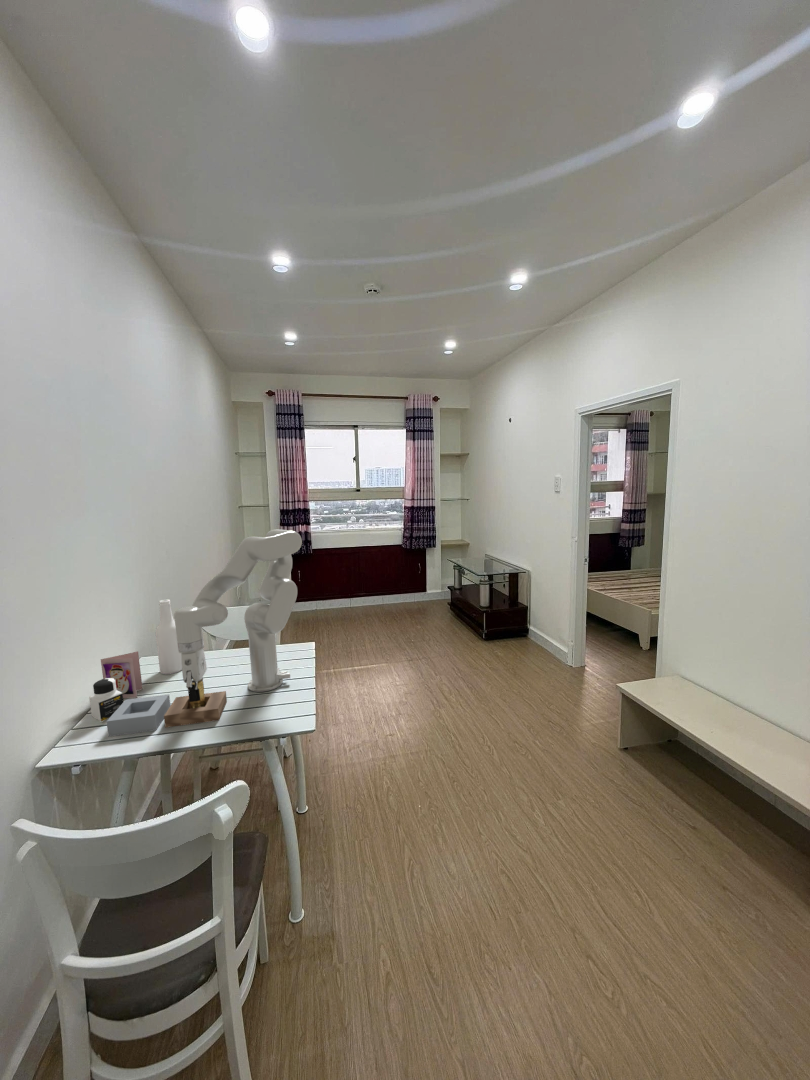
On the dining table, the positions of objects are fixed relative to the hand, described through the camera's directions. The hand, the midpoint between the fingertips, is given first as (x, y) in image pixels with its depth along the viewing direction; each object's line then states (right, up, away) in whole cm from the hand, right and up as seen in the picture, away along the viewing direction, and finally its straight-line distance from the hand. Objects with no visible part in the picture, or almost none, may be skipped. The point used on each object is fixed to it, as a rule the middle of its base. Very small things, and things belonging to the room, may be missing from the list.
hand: (197, 696), depth 139 cm
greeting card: (-34, -5, +16) cm, 38 cm away
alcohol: (-28, -2, +35) cm, 45 cm away
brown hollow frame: (0, -6, +1) cm, 6 cm away
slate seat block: (-17, -7, -3) cm, 18 cm away
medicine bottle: (-31, -7, +2) cm, 32 cm away
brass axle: (0, -5, +1) cm, 5 cm away
